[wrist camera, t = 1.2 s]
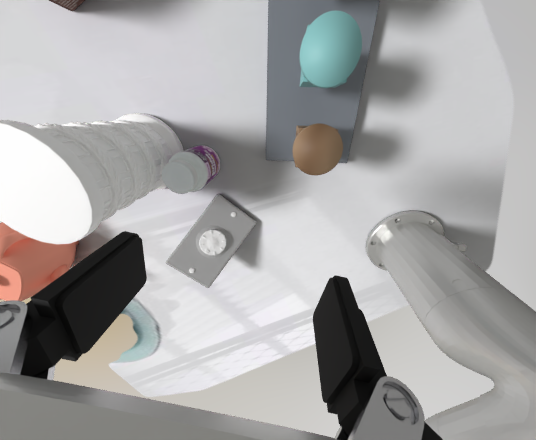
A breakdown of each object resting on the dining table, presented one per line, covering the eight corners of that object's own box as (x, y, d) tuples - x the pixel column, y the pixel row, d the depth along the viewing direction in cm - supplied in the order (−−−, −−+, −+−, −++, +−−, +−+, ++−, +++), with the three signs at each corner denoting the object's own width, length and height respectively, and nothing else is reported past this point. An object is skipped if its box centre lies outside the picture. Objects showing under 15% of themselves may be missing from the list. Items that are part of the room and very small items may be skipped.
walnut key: (334, 121, 25) (347, 124, 20) (327, 163, 27) (337, 176, 22) (292, 120, 25) (294, 123, 20) (289, 162, 27) (291, 174, 22)
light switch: (258, 222, 36) (208, 291, 35) (252, 219, 42) (209, 278, 41) (218, 192, 34) (163, 264, 33) (217, 194, 40) (171, 255, 39)
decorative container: (199, 155, 33) (119, 196, 17) (161, 200, 37) (69, 266, 21) (136, 94, 29) (-39, 74, 14) (102, 151, 34) (-61, 187, 18)
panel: (386, -56, 21) (423, -117, 16) (344, 160, 32) (357, 171, 26) (270, -54, 22) (265, -112, 16) (266, 157, 32) (262, 167, 27)
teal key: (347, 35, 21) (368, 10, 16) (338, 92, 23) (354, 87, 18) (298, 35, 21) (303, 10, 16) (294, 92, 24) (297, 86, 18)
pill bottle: (228, 167, 33) (208, 186, 25) (204, 183, 35) (178, 207, 26) (206, 137, 31) (177, 146, 23) (182, 156, 33) (146, 171, 25)
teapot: (106, 267, 46) (49, 317, 35) (42, 269, 48) (-31, 317, 37) (69, 207, 39) (-16, 244, 28) (-4, 212, 41) (-110, 250, 30)
